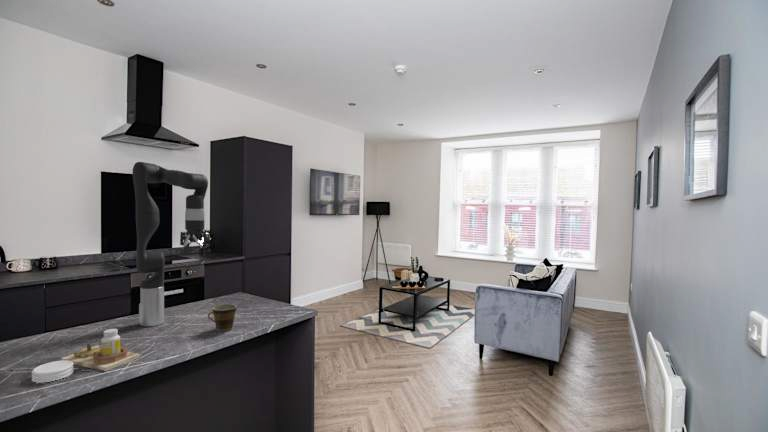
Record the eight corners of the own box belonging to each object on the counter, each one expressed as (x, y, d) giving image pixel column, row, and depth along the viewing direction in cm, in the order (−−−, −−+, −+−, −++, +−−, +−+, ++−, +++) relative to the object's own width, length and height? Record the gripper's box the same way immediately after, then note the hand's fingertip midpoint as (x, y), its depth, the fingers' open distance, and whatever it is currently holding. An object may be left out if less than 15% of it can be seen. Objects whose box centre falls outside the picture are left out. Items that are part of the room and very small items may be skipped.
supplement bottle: (117, 353, 132) (117, 326, 132) (122, 357, 129) (122, 330, 129) (99, 358, 128) (99, 330, 128) (103, 362, 125) (103, 334, 124)
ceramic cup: (227, 324, 170) (227, 302, 169) (241, 328, 165) (241, 306, 164) (201, 332, 159) (201, 309, 158) (215, 336, 153) (215, 313, 153)
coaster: (28, 387, 110) (28, 376, 110) (34, 374, 118) (34, 364, 118) (71, 378, 116) (71, 368, 116) (75, 367, 124) (75, 357, 124)
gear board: (60, 361, 128) (60, 348, 127) (97, 348, 139) (96, 336, 139) (105, 371, 121) (105, 357, 121) (139, 357, 132) (139, 344, 132)
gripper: (175, 218, 158) (175, 256, 159) (201, 219, 154) (201, 257, 154) (189, 218, 165) (189, 253, 166) (214, 219, 161) (214, 255, 161)
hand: (194, 255), depth 160 cm, fingers open, 8 cm apart
